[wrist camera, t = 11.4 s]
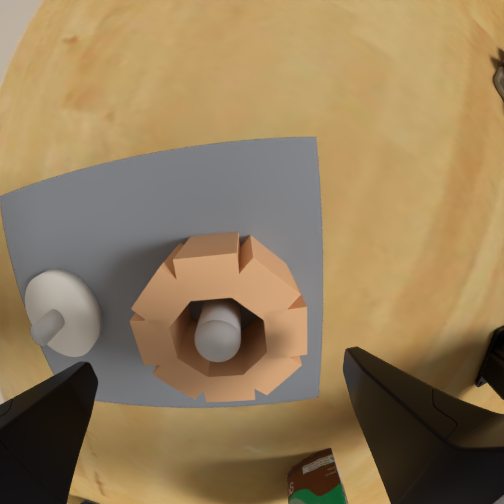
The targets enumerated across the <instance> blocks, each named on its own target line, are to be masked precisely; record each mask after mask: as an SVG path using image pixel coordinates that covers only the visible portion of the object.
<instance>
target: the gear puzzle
mask: <svg viewBox="0 0 504 504" xmlns="http://www.w3.org/2000/svg"><path fill="white" fill-rule="evenodd" d="M503 63H504V59H503ZM494 83H495V86H496V88H497V90H498V92H499V93H500V95H501V97H502V98H503V100H504V68H503V67H499V69H498V71H497V73H496V75H495V77H494Z"/></svg>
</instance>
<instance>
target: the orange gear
mask: <svg viewBox="0 0 504 504" xmlns="http://www.w3.org/2000/svg"><path fill="white" fill-rule="evenodd" d="M222 298H233V299H234V300H236V301H237V302H239V303H240V304H241V305H243V306H244V307H246V308H247V309H248V310H250V311H251V312H253V313H254V314H256V315H257V317H256V318H255V319H254V320H253V321H252V322H251V323H250V324H249V325H248V326H247V328H246V329H245V330H244V331H241V343H240V347H239V349H238V351H237V353H236V354H235V355H234V356H233V357H232V358H231V359H229V360H227V361H224V362H212V361H209V360H207V359H205V358H204V357H202V356H201V354H200V353H199V352H198V350H197V349H196V346H195V340H194V339H195V332H196V328H197V325H198V322H196V321H195V320H194V319H192V318H191V316H190V311H189V306H188V304H189V302H190V301H198V300H210V299H222ZM131 309H132V310H133V311H134V312H136V313H135V314H134V315H133V317H132V318H131V320H130V324H131V327H132V330H133V334H134V337H135V340H136V343H137V346H138V349H139V352H140V354H141V357H142V360H143V363H144V365H156V367H155V369H154V372H153V374H152V375H154V376H155V377H157V378H159V379H160V380H162V381H163V382H165V383H167V384H168V385H170V386H172V387H173V388H175V389H177V390H178V391H180V392H182V393H184V394H185V395H187V396H189V397H191V398H193V399H195V398H196V397H198V396H199V395H200V394H201V393H202V392H204V395H205V399H206V402H230V401H245V400H255V389H256V390H258V391H260V392H262V393H263V394H265V395H268V394H269V393H270V392H271V391H273V390H274V389H275V388H276V387H277V386H279V385H280V384H281V383H282V382H283V381H285V380H286V379H287V378H288V377H289V376H290V375H291V374H293V373H294V372H295V371H296V370H297V369H298V368H299V367H300V366H302V363H301V360H300V355H307V306H306V304H305V301H304V299H303V297H302V295H301V293H300V290H299V288H298V286H297V284H296V282H295V280H294V278H293V275H292V274H291V272H290V270H289V268H288V266H287V264H286V263H285V262H284V261H282V260H281V259H280V258H279V257H277V256H276V255H275V254H274V253H272V252H271V251H270V250H269V249H267V248H266V247H265V246H264V245H262V244H261V243H260V242H259V241H257V240H256V239H255V238H254V237H252V236H251V235H250V236H249V237H248V238H247V240H246V241H245V242H244V243H243V244H242V246H241V247H240V242H239V233H238V231H237V232H228V233H218V234H209V235H200V236H191V237H190V238H189V239H188V241H187V242H186V243H185V244H184V245H183V244H182V243H179V245H178V246H177V247H176V248H175V249H174V250H173V252H172V253H171V254H170V255H169V256H168V258H167V259H166V260H165V261H164V262H163V264H162V265H161V266H160V267H159V269H158V270H157V272H156V273H155V274H154V276H153V277H152V279H151V280H150V282H149V283H148V284H147V286H146V287H145V289H144V290H143V292H142V293H141V295H140V296H139V298H138V299H137V301H136V302H135V304H134V305H133V307H132V308H131Z"/></svg>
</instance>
